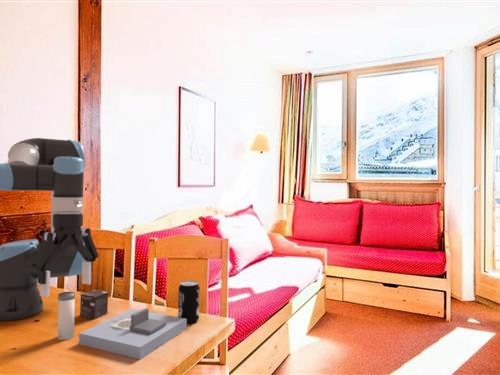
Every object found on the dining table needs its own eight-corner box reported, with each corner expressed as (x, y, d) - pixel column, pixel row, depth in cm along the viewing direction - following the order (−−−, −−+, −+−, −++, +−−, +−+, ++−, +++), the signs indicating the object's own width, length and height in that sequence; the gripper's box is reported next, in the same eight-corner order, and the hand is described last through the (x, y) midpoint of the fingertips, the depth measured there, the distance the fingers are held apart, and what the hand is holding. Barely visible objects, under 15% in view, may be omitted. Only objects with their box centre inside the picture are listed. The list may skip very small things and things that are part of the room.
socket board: (78, 344, 96) (79, 333, 96) (132, 318, 116) (132, 308, 116) (140, 359, 89) (140, 347, 89) (186, 328, 108) (186, 318, 108)
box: (79, 317, 116) (79, 294, 116) (94, 311, 122) (94, 289, 122) (94, 320, 114) (94, 296, 114) (108, 313, 119) (108, 291, 119)
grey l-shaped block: (129, 329, 99) (129, 315, 99) (146, 320, 105) (146, 307, 105) (150, 333, 96) (151, 319, 96) (166, 324, 103) (166, 311, 103)
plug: (53, 338, 100) (54, 294, 100) (66, 333, 103) (67, 290, 103) (65, 341, 98) (65, 297, 98) (77, 335, 102) (78, 292, 102)
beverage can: (194, 325, 111) (195, 286, 111) (174, 323, 112) (175, 284, 112) (201, 317, 117) (202, 280, 117) (182, 316, 119) (183, 279, 119)
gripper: (36, 215, 88) (34, 304, 87) (111, 211, 111) (110, 280, 111) (15, 214, 90) (13, 300, 90) (92, 210, 114) (91, 278, 113)
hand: (66, 289), depth 100 cm, fingers open, 13 cm apart
